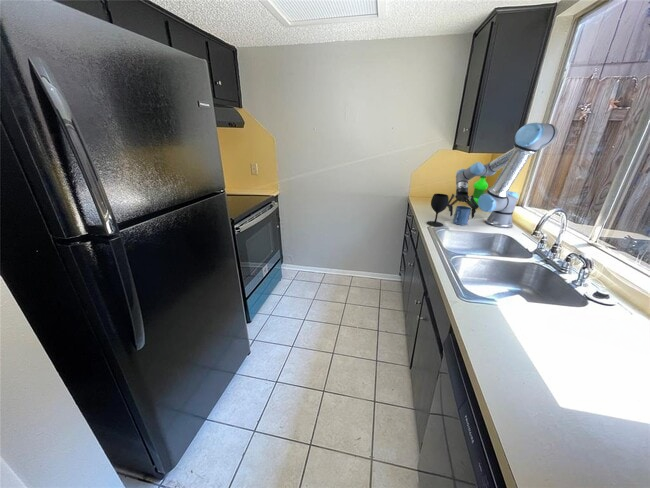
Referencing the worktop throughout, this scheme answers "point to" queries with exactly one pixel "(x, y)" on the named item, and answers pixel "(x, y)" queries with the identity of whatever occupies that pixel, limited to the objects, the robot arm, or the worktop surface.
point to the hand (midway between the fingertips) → (462, 216)
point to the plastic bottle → (479, 188)
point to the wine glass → (438, 207)
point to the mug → (461, 215)
